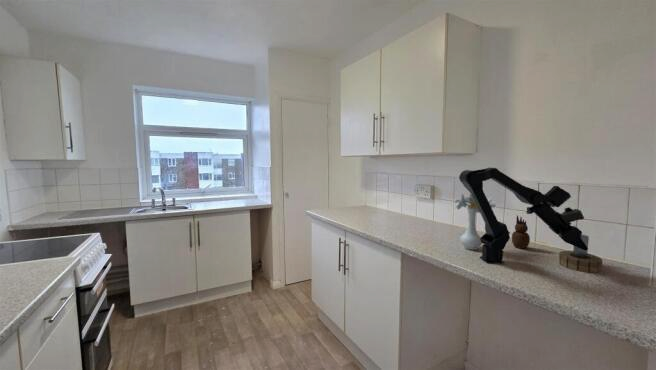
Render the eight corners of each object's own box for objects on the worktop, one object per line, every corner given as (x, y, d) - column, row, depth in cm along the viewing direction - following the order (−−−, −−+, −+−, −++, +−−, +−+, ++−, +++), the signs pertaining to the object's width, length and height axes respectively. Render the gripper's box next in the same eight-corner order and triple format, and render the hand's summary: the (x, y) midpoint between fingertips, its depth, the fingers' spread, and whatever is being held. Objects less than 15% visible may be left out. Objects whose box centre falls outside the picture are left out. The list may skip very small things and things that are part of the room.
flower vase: (497, 248, 129) (500, 194, 126) (469, 254, 121) (471, 197, 119) (472, 240, 141) (474, 191, 138) (445, 246, 133) (447, 194, 130)
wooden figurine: (508, 246, 132) (510, 214, 130) (517, 244, 134) (519, 213, 132) (523, 250, 125) (525, 217, 124) (531, 249, 127) (533, 216, 126)
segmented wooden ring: (576, 272, 102) (577, 262, 101) (551, 260, 113) (551, 250, 113) (610, 272, 101) (611, 261, 101) (581, 260, 113) (582, 250, 113)
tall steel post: (578, 268, 105) (580, 237, 104) (569, 264, 109) (571, 234, 108) (589, 268, 105) (591, 237, 104) (579, 264, 109) (582, 234, 108)
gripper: (576, 205, 99) (615, 240, 95) (560, 198, 115) (593, 227, 112) (547, 225, 103) (583, 259, 99) (535, 215, 120) (566, 244, 116)
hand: (582, 246), depth 106 cm, fingers open, 9 cm apart
